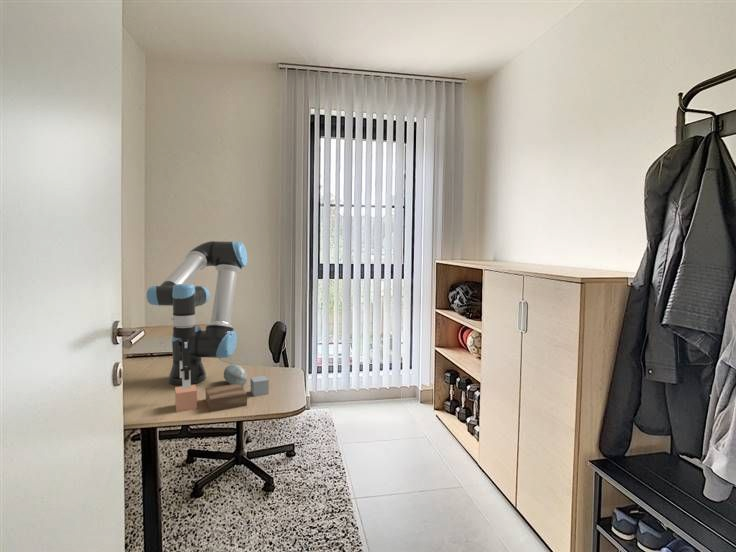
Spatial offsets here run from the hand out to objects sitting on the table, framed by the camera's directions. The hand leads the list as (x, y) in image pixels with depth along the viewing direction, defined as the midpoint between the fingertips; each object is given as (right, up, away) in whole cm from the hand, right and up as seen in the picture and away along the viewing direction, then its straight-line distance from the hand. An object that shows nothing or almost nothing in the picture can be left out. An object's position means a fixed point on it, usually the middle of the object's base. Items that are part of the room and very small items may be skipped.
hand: (185, 382), depth 159 cm
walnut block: (+13, -10, +6) cm, 17 cm away
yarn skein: (+11, -8, +26) cm, 29 cm away
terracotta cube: (0, -10, +1) cm, 10 cm away
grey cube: (+23, -8, +17) cm, 30 cm away
